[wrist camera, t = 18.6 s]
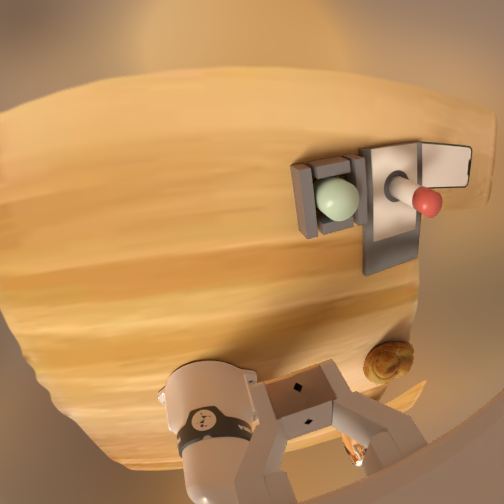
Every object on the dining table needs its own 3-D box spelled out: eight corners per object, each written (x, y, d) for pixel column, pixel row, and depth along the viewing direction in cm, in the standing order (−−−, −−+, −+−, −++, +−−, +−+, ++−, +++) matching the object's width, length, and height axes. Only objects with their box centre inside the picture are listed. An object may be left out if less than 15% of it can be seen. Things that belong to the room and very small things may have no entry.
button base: (356, 214, 42) (367, 222, 39) (299, 230, 41) (307, 239, 38) (352, 153, 37) (364, 157, 35) (290, 165, 36) (298, 170, 34)
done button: (345, 205, 40) (360, 216, 37) (312, 214, 40) (325, 225, 36) (342, 171, 38) (358, 178, 34) (308, 178, 37) (321, 186, 34)
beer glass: (360, 408, 69) (384, 451, 56) (345, 423, 72) (366, 465, 59) (342, 409, 67) (366, 455, 54) (326, 424, 69) (347, 469, 56)
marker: (405, 195, 41) (441, 214, 34) (388, 199, 40) (423, 220, 33) (405, 173, 39) (442, 190, 32) (387, 177, 39) (424, 194, 32)
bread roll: (413, 332, 59) (433, 355, 52) (397, 362, 63) (414, 385, 56) (368, 340, 56) (387, 368, 49) (353, 373, 60) (369, 400, 53)
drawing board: (413, 255, 48) (418, 258, 47) (362, 273, 47) (366, 277, 46) (417, 141, 38) (423, 142, 37) (358, 149, 37) (363, 150, 36)
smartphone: (406, 189, 42) (466, 186, 45) (408, 190, 42) (467, 187, 45) (410, 139, 39) (470, 145, 41) (412, 140, 38) (472, 146, 41)
